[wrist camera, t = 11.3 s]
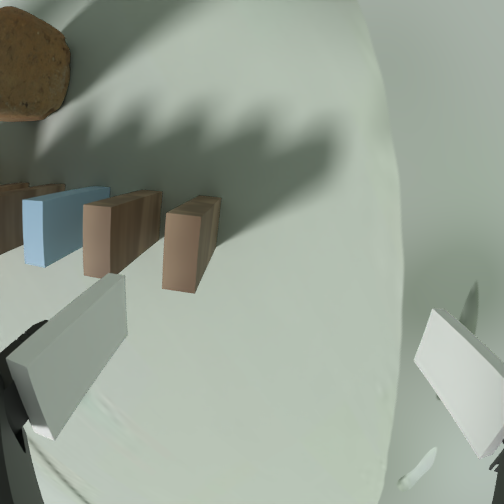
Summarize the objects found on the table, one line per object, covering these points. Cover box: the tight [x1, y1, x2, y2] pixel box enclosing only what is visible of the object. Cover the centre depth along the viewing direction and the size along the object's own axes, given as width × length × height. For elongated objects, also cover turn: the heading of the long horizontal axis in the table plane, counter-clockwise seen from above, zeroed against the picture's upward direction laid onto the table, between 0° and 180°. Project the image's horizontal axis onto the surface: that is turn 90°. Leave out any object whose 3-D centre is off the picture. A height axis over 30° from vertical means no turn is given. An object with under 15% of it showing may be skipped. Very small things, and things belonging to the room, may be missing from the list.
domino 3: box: [83, 190, 162, 278], centre depth 25 cm, size 2×5×12 cm, turn 172°
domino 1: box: [0, 184, 65, 255], centre depth 24 cm, size 2×5×12 cm, turn 173°
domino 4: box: [162, 195, 221, 293], centre depth 25 cm, size 2×5×12 cm, turn 173°
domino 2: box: [22, 186, 110, 268], centre depth 25 cm, size 2×5×12 cm, turn 173°
